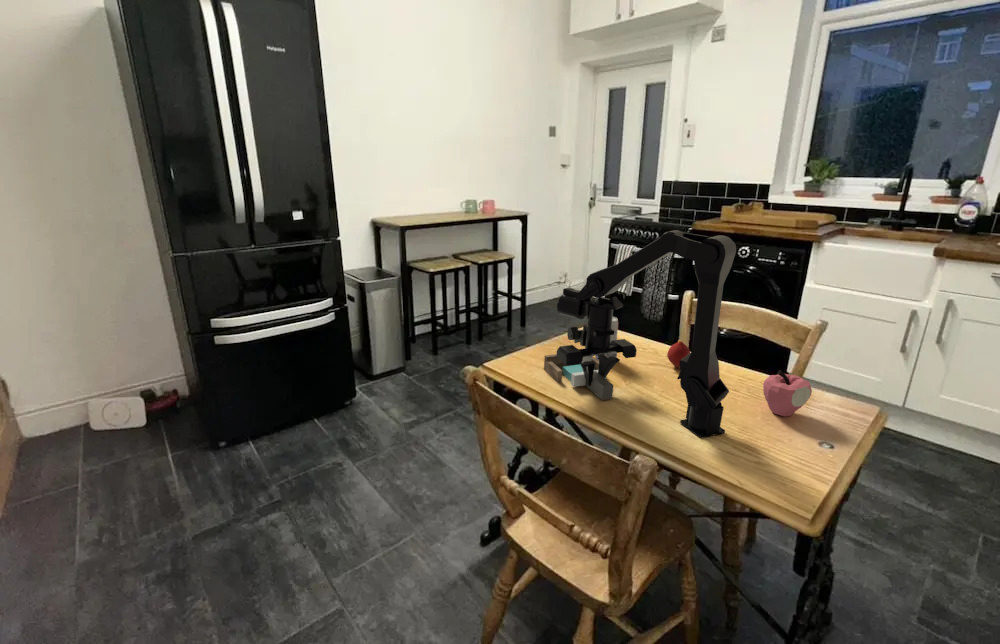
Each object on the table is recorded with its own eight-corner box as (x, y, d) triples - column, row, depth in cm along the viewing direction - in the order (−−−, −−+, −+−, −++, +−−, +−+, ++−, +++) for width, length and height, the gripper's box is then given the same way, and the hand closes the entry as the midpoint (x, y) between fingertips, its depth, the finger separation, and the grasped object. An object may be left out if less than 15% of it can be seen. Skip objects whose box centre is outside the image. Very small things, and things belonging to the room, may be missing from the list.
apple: (776, 424, 103) (786, 382, 99) (749, 405, 111) (757, 365, 107) (814, 420, 104) (825, 379, 101) (785, 402, 112) (794, 363, 109)
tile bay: (603, 375, 124) (605, 361, 123) (557, 382, 120) (558, 367, 119) (588, 363, 132) (589, 350, 130) (543, 369, 128) (544, 355, 126)
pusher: (623, 396, 112) (625, 383, 111) (590, 401, 110) (591, 388, 108) (602, 379, 121) (604, 367, 120) (570, 384, 118) (571, 371, 117)
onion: (685, 363, 133) (689, 336, 131) (690, 372, 128) (695, 344, 125) (663, 362, 134) (667, 335, 131) (668, 371, 128) (672, 343, 126)
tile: (599, 383, 121) (600, 374, 120) (574, 386, 119) (575, 377, 118) (585, 372, 127) (586, 363, 127) (562, 375, 125) (562, 366, 124)
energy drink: (591, 356, 137) (595, 316, 133) (608, 354, 139) (612, 314, 135) (601, 363, 132) (604, 322, 128) (618, 361, 134) (622, 320, 130)
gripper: (615, 310, 121) (609, 367, 126) (548, 316, 116) (545, 375, 120) (641, 324, 112) (634, 384, 116) (569, 331, 106) (565, 395, 111)
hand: (593, 384), depth 116 cm, fingers closed on pusher, 3 cm apart
